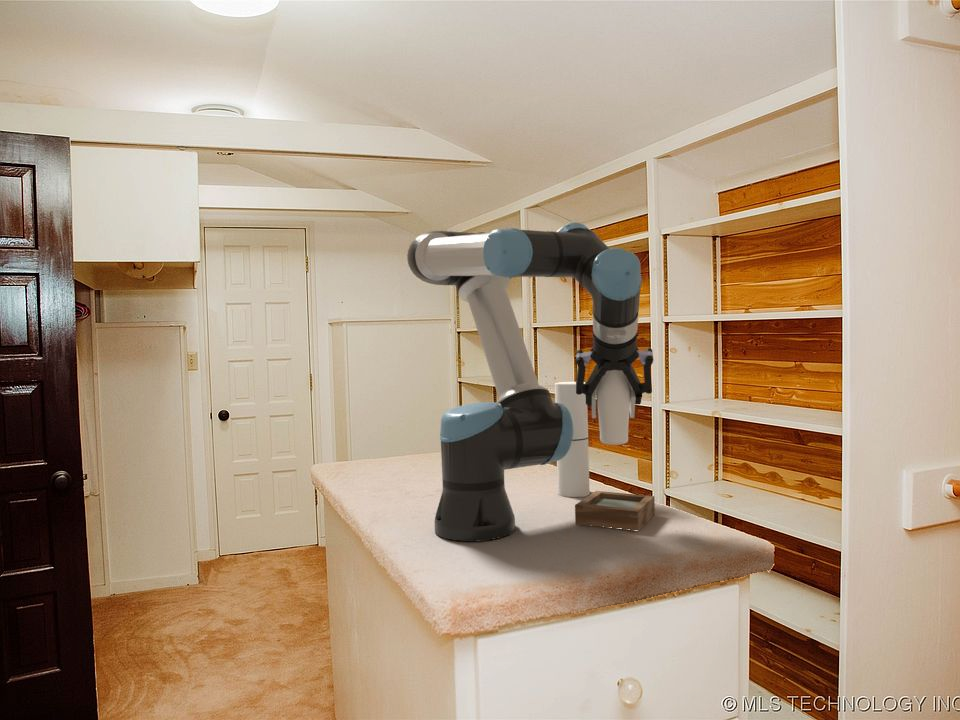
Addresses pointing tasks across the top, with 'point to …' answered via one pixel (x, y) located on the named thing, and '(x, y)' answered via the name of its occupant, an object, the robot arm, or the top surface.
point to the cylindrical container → (574, 444)
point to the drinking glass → (613, 407)
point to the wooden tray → (615, 510)
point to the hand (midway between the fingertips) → (612, 412)
